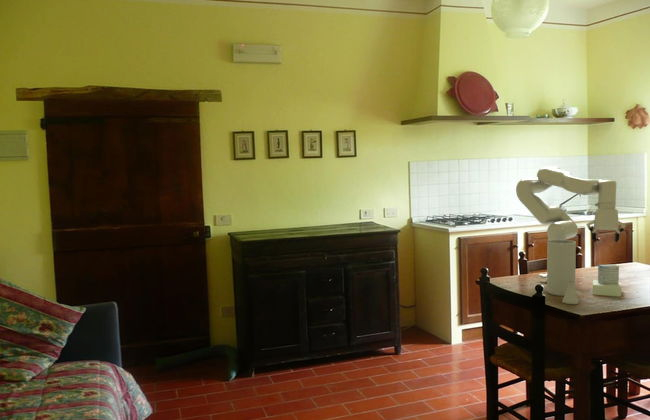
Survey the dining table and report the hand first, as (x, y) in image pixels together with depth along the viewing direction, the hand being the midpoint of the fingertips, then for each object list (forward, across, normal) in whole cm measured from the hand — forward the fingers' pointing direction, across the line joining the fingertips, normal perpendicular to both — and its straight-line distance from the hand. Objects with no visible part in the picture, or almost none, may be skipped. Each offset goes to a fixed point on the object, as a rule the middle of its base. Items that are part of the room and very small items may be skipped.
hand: (605, 241), depth 273 cm
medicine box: (+20, +1, -5) cm, 20 cm away
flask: (+24, -19, -28) cm, 41 cm away
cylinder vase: (+24, -20, -10) cm, 33 cm away
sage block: (+24, 0, -5) cm, 25 cm away
